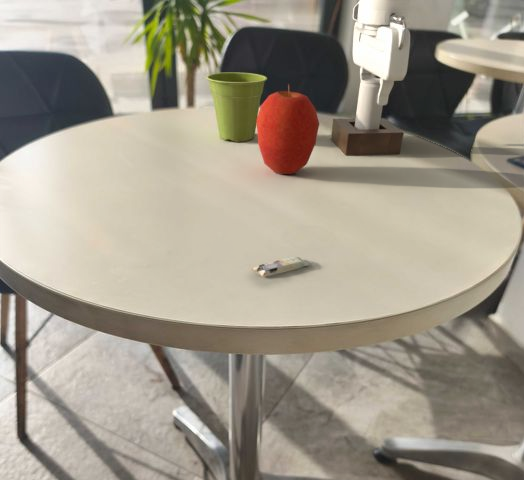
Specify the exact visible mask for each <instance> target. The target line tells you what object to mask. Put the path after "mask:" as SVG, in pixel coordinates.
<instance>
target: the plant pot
mask: <svg viewBox="0 0 524 480" xmlns="http://www.w3.org/2000/svg"><path fill="white" fill-rule="evenodd" d="M205 79H206V80H207V81H208V83H209V88H210V93H211V95H212V99H213V105H214V112H215V117H216V123H217V128H218V134H219V138H220V139H222V140H224V141H227V140H228V141H229V140H230V141H232V142H236V143H240V142H248V141H251V140H252V139H254V138H255V134H256V130H257V121H256V120H257V117H258V114H259V111H260V104H261V98H262V95H263V91H264V86H265V82H266V81H267V80H268V77H267V76H266V75H263V74H258V73H252V72H234V71H232V72H231V71H229V72H216V73H210V74H207V75H206V76H205Z"/></svg>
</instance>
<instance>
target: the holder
mask: <svg viewBox="0 0 524 480" xmlns="http://www.w3.org/2000/svg"><path fill="white" fill-rule="evenodd" d="M355 120H356V118H333V119H332V125H331V135H330V140H331V141H332V142H333V143H334V144H335V146H336V147H337V148H338V149H339V150H340V151H341V152H342V153H343V154H344V155H345V156H374V155H376V156H377V155H378V156H379V155H380V156H381V155H400V154H401V150H402V144H403V138H404V133H405V132H404V131H402V129H400V128H399V127H397V126H395V125H394V124H393V123H391V122H390V121H389V120H387V119H386V118H385V117H381V120H380V126H379V129H377V130H357V129H356V128H354V127H355Z"/></svg>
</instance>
